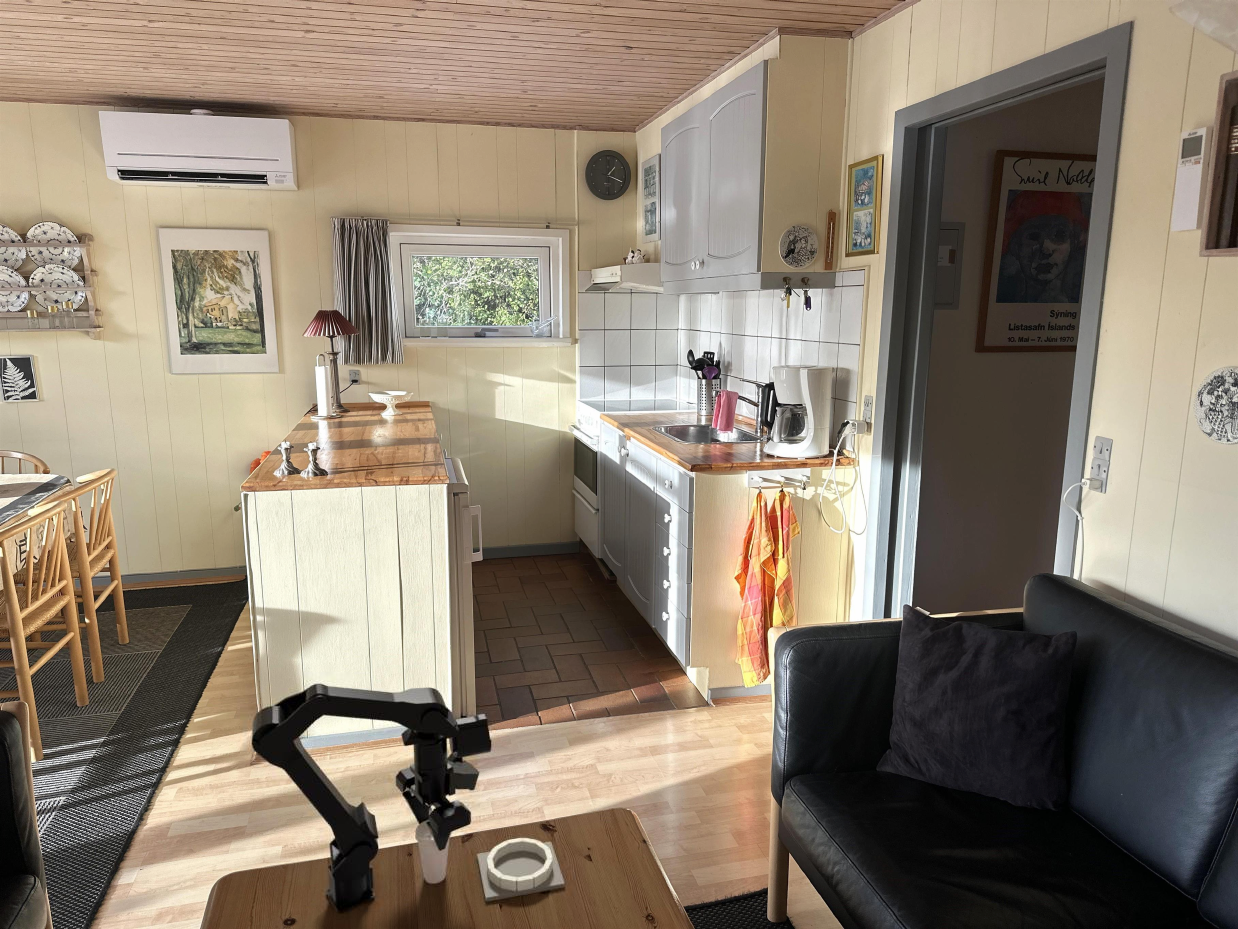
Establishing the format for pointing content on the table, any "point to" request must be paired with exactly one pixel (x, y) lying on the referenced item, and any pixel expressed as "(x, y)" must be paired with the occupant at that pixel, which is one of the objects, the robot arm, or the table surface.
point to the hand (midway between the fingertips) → (433, 839)
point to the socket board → (519, 869)
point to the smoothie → (431, 854)
